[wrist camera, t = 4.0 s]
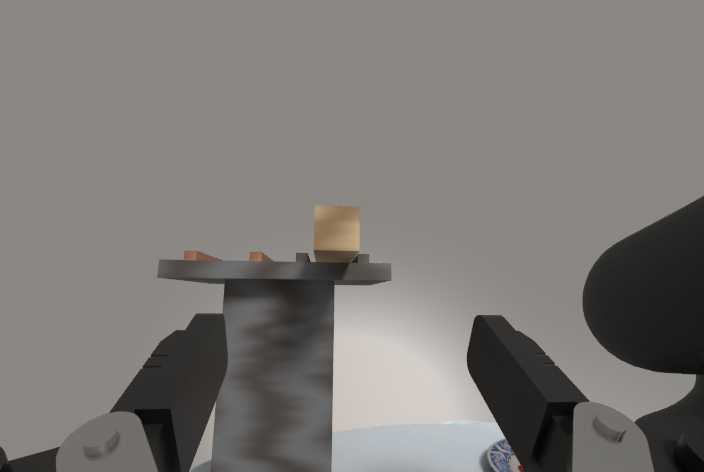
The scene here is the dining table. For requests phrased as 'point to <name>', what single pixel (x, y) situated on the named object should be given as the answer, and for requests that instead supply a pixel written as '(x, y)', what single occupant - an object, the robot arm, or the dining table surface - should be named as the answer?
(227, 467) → the grey pedestal stand
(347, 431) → the dining table surface
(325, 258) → the oak bar
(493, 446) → the ceramic plate
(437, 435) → the dining table surface
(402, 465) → the dining table surface
